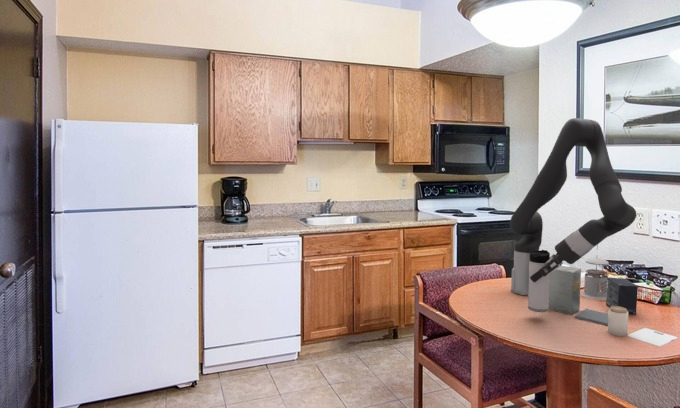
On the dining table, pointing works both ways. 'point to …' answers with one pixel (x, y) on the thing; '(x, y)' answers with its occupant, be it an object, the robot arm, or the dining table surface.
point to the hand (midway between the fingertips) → (533, 277)
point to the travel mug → (538, 282)
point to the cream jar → (618, 321)
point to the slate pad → (593, 316)
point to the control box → (565, 290)
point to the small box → (622, 294)
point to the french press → (595, 280)
